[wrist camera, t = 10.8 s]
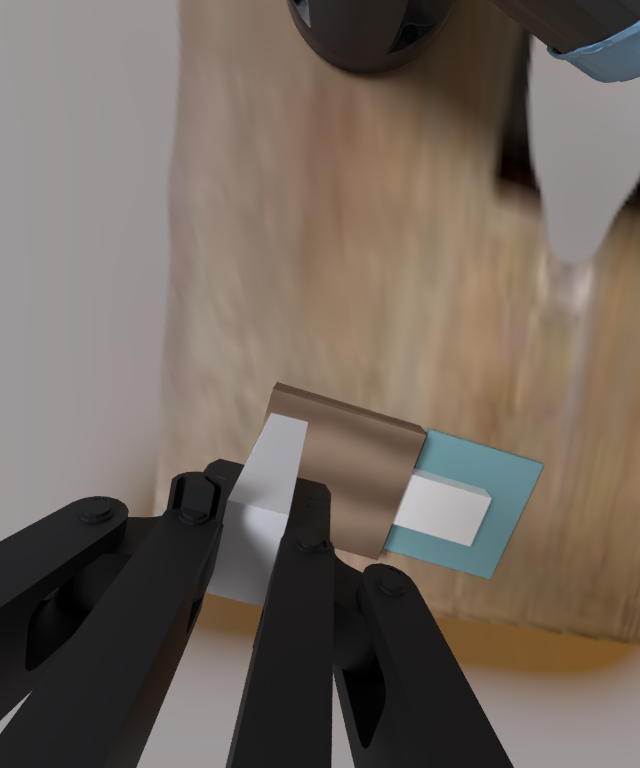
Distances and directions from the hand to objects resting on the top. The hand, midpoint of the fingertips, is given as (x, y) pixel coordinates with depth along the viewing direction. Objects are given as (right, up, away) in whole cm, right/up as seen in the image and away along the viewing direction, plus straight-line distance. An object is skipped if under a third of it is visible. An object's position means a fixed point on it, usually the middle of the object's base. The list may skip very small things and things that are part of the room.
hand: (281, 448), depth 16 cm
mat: (+17, -11, +29) cm, 36 cm away
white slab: (+14, -10, +29) cm, 34 cm away
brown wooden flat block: (+2, -7, +29) cm, 30 cm away
